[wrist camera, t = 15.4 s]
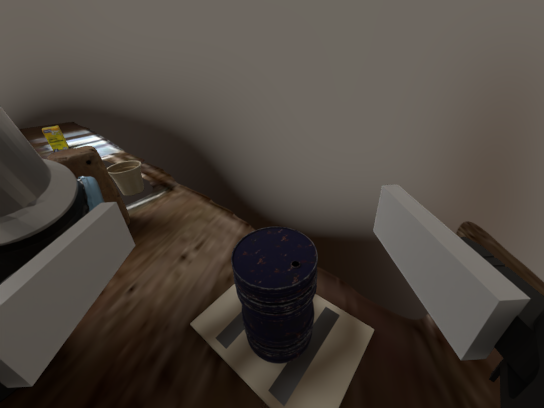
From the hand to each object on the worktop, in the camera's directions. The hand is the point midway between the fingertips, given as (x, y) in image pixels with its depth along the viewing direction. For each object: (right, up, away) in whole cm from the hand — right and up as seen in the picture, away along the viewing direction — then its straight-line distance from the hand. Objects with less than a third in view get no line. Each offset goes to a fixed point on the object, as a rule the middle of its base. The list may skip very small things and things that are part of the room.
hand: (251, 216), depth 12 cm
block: (-40, -6, +46) cm, 61 cm away
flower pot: (-43, +4, +63) cm, 76 cm away
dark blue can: (+2, -18, +23) cm, 29 cm away
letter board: (+2, -18, +23) cm, 29 cm away
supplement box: (-103, +27, +105) cm, 150 cm away
